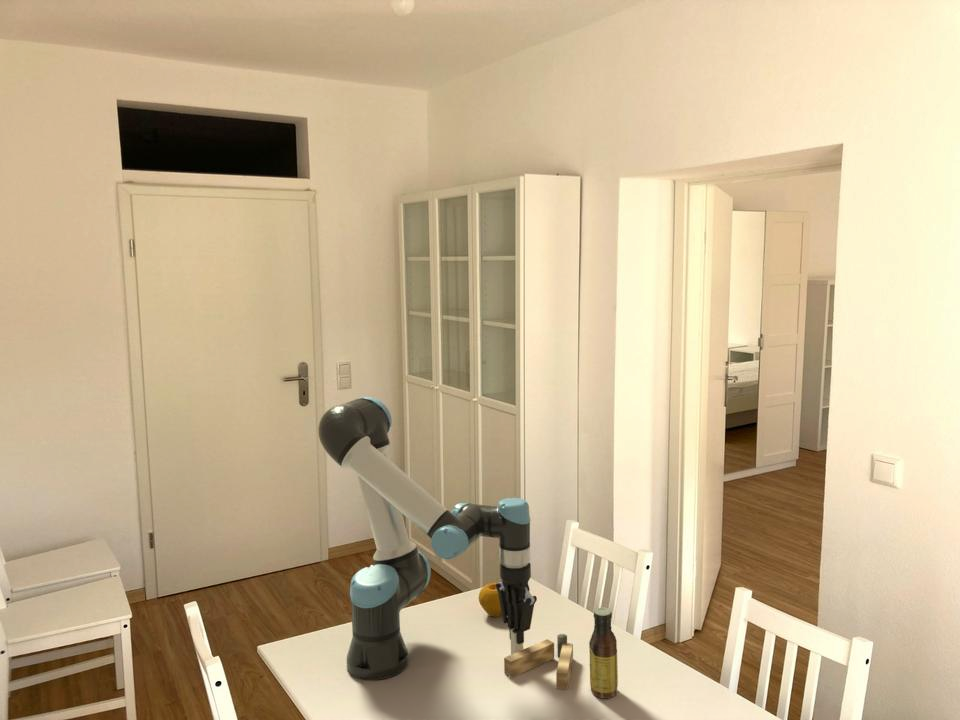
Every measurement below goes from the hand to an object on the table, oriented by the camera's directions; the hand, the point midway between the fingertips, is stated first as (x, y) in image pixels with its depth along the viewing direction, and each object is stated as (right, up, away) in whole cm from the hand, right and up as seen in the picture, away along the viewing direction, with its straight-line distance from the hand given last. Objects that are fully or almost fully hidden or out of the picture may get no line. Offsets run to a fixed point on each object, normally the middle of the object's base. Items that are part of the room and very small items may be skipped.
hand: (517, 653), depth 192 cm
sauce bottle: (+19, -4, -14) cm, 24 cm away
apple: (-5, +1, +25) cm, 26 cm away
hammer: (+11, -2, -5) cm, 12 cm away
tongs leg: (+3, -2, -3) cm, 4 cm away
